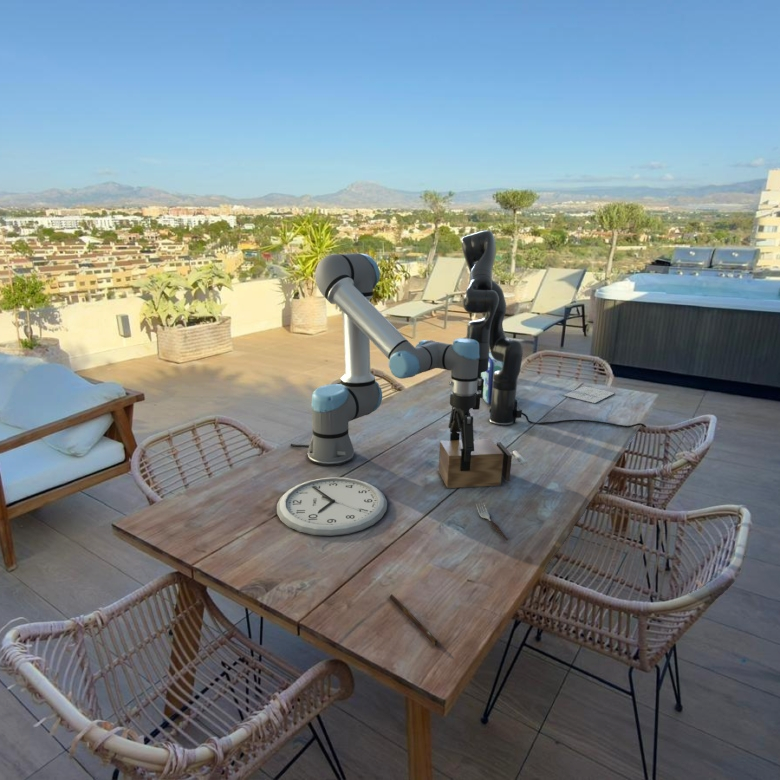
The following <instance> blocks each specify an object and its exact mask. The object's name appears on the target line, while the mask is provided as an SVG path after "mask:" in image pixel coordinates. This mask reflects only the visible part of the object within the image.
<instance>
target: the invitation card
mask: <svg viewBox="0 0 780 780" xmlns="http://www.w3.org/2000/svg"><path fill="white" fill-rule="evenodd" d="M614 394H616V393H615V392H612V391H607V390H605V389H604V390H603V389H599V388H594V387H590V386H586V385H583V386H581V387H578V388H576V389H574V390H572V391H569V392H567V393H565V394H563V395H562V396H563V397H568V398H572V399H576V400H580V401H583V402H587V403H592V404H596V403H599V402H601V401H603V400H604V399H607V398H608V397H610V396H613V395H614Z"/></svg>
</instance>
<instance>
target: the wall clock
mask: <svg viewBox="0 0 780 780" xmlns="http://www.w3.org/2000/svg"><path fill="white" fill-rule="evenodd" d="M387 509H388V500H387V498H386V496H385V494H384V493H383V492H382V491H381V490H380V489H379V488H377V487H376V486H374V485H372V484H371V483H369V482H365V481H362V480H359V479H355V478H349V477H338V476H337V477H335V476H333V477H332V476H331V477H322V478H317V479H312V480H307V481H305V482H302V483H299V484H297V485H295V486H293V487H292V488H290V489H288V490H287V491H286V492H285V493H284V494H283V495H281V496H280V498H279V499H278V502H277V503H276V515H277V517H278V518H279V520H280V521H281V522H282V523H283V524H285V525H286V526H287V527H288V528H290V529H293V530H295V531H297V532H299V533H303V534H308V535H312V536H327V537H328V536H329V537H331V536H332V537H333V536H342V535H350V534H352V533H356V532H361V531H363V530H366V529H368V528H369V527H372V526H373V525H375V524H376V523H378V522H379V521H380V520H381V519H382V518H383V517H384V516H385V514H386V512H387Z"/></svg>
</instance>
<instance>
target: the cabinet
mask: <svg viewBox="0 0 780 780" xmlns="http://www.w3.org/2000/svg"><path fill="white" fill-rule="evenodd" d="M461 449H463V447H462V439H459V440H452V441H450V440H439V451H438V452H439V454H438V455H439V456H438V473H439V475H440V477H441V479H442V482H443V483H444V485H445V487H446V488H447V489H459V488H461V489H462V488H477V487H478V488H479V487H496V486H501V485H502V476H501V475H502V464H503V452H502V451H501V450H500V449H499V448H498V447H497V443H495V442H494V441H493V439H492V438H479V439H474V451H471V462H470V471H460V465H461V451H460V450H461Z"/></svg>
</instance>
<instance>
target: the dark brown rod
mask: <svg viewBox="0 0 780 780" xmlns="http://www.w3.org/2000/svg"><path fill="white" fill-rule="evenodd" d="M389 599H390V600H391V601H392V603H394V605H396V607H398V609H399V610H400V611H401V612H402V613H403V614H404V615H405V616H406V617H407V618H408V619H409V620H410V621H411V622H412V623H413V624H414V625H415V627H417V628H418V630H420V631H421V633H423V635H424V636H425V637H426V638H427V639H428V640H429V641H430V642H431V643H432V644H433V645H434V646H437V644H438V640H437V639H436V638H435V637H434V635H433V634H431V633H430V632H429V630H428V629H427V628H426V627H425V626H424V625H423V624H421V622H420V621H419V620H418V619H417V618H416V617H415V616H414V615H413V614H412V613H411V612H410V611H409V610H408V609H407V608H406V607H405V606H404V605H403V604H402V603H401V602H400V601H399V599H397V598H396V596H394V595H393V594H392V593H391V594H390V595H389Z"/></svg>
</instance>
